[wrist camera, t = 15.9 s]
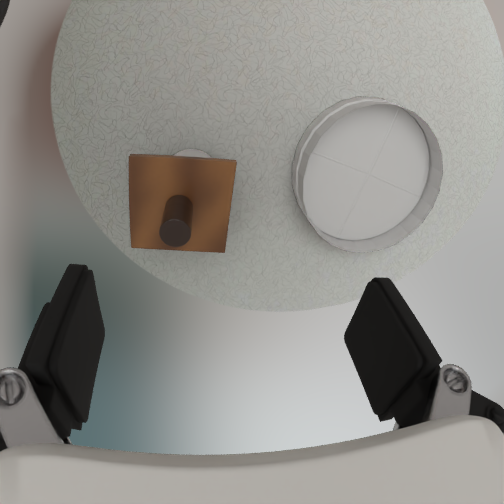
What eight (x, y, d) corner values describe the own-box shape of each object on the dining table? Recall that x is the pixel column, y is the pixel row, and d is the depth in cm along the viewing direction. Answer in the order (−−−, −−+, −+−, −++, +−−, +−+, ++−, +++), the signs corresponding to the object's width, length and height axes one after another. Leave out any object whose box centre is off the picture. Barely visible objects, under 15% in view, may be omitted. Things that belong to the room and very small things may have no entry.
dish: (445, 135, 41) (464, 145, 37) (386, 249, 52) (399, 266, 48) (327, 69, 35) (342, 71, 30) (267, 216, 45) (274, 234, 41)
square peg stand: (132, 244, 36) (122, 277, 31) (130, 153, 30) (114, 175, 25) (224, 249, 38) (227, 283, 33) (236, 159, 32) (242, 182, 27)
